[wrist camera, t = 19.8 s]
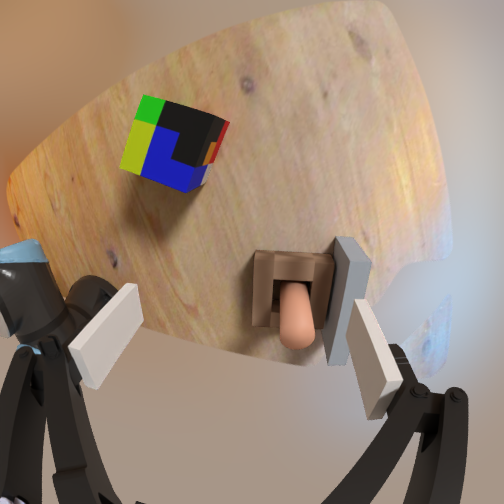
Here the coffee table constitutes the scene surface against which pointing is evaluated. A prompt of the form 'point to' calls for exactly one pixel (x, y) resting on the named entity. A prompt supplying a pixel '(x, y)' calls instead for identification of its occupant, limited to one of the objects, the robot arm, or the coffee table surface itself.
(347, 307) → the board
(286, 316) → the dowel
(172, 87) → the coffee table surface
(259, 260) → the block
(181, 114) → the puzzle toy
